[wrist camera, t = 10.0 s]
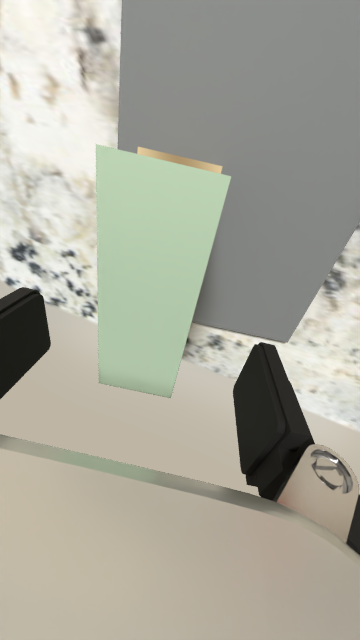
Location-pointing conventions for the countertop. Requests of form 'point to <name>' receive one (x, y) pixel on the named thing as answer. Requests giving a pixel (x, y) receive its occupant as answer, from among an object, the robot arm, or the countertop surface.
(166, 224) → the beam
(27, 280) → the countertop surface
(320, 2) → the mat
